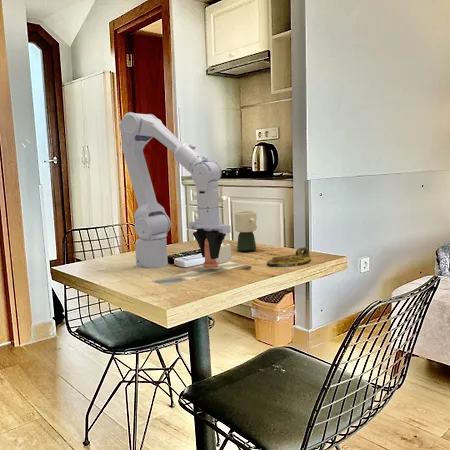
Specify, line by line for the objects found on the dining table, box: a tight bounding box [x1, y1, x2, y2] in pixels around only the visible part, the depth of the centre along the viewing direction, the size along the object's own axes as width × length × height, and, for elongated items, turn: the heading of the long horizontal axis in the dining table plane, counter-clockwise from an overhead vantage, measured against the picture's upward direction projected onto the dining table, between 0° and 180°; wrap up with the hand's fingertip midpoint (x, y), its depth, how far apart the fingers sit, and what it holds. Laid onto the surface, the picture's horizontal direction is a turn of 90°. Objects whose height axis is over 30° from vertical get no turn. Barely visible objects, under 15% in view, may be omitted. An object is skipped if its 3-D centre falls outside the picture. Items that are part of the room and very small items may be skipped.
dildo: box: [202, 238, 219, 268], centre depth 128 cm, size 4×4×8 cm
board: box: [151, 261, 252, 287], centre depth 126 cm, size 10×28×1 cm, turn 134°
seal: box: [266, 246, 312, 268], centre depth 138 cm, size 9×5×15 cm
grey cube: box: [216, 242, 232, 263], centre depth 144 cm, size 5×5×5 cm
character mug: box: [234, 210, 258, 252], centre depth 157 cm, size 11×7×13 cm, turn 28°
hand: (210, 257), depth 128 cm, fingers closed on dildo, 3 cm apart
